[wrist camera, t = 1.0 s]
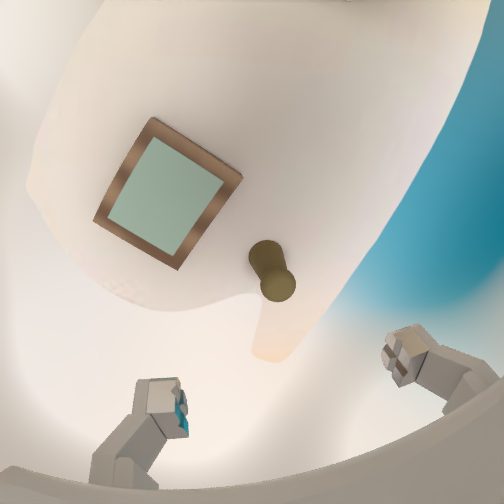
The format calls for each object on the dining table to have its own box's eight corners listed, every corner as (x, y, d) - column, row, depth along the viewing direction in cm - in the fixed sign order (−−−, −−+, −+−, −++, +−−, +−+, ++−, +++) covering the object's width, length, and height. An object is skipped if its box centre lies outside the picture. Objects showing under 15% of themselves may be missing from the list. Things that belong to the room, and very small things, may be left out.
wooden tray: (154, 117, 38) (150, 117, 35) (241, 174, 44) (243, 178, 41) (98, 214, 43) (91, 221, 40) (178, 261, 49) (177, 271, 46)
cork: (284, 240, 50) (304, 272, 40) (280, 271, 53) (297, 307, 43) (250, 239, 49) (261, 273, 39) (247, 271, 52) (257, 309, 42)
